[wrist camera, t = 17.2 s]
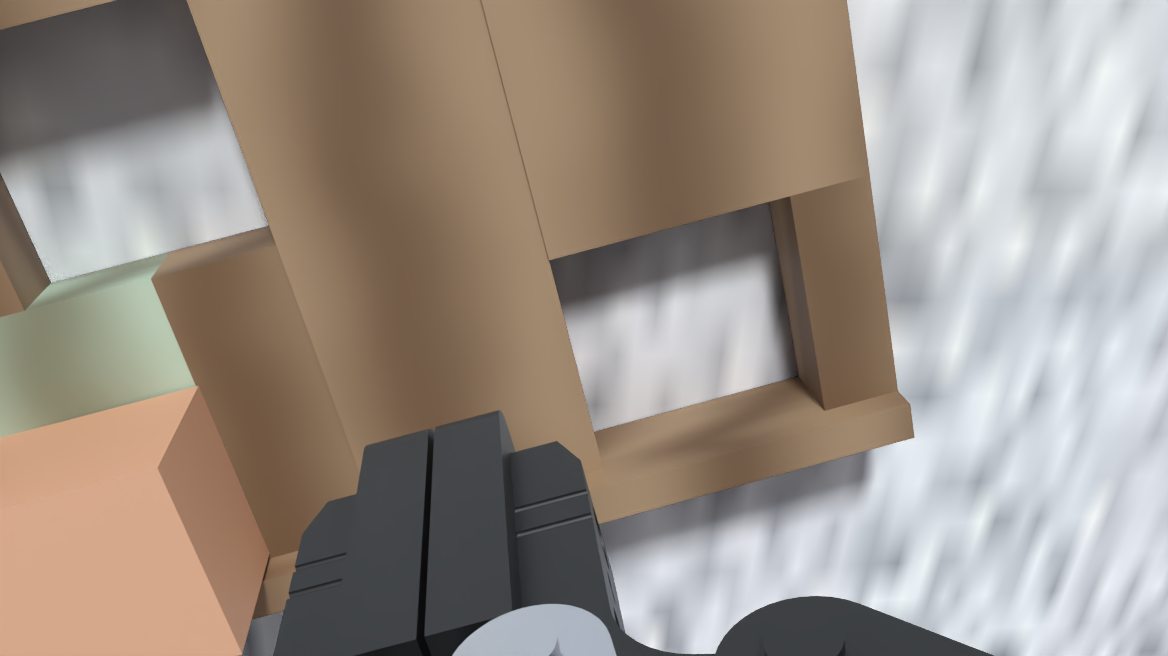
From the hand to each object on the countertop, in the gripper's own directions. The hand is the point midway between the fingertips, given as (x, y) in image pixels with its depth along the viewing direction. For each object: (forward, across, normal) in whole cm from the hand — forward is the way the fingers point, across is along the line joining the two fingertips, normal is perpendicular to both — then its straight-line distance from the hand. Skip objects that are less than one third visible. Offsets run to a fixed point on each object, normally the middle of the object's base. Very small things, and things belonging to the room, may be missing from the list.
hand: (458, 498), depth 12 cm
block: (+14, +10, +6) cm, 18 cm away
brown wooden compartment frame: (+16, +2, +2) cm, 16 cm away
